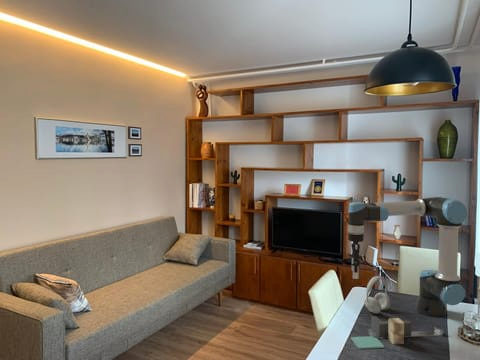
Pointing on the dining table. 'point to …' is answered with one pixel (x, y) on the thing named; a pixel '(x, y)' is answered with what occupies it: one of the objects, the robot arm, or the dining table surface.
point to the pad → (367, 342)
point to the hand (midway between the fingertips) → (354, 274)
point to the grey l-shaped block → (382, 326)
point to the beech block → (396, 331)
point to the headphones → (377, 297)
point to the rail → (413, 333)
